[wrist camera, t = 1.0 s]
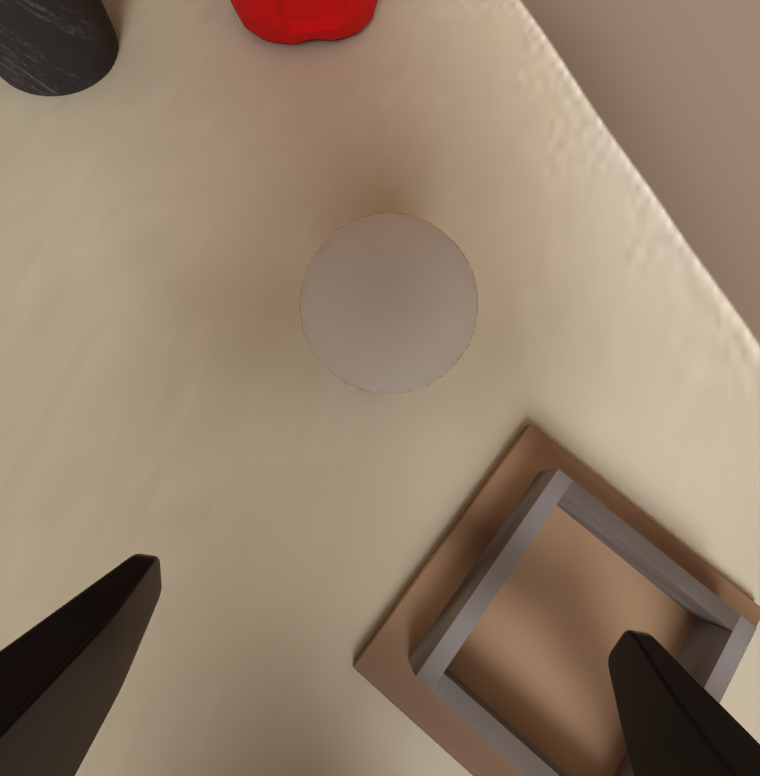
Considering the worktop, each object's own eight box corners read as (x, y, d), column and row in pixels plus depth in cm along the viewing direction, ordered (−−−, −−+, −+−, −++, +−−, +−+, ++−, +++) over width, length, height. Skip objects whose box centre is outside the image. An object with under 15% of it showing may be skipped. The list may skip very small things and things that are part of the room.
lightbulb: (323, 308, 24) (310, 153, 13) (435, 325, 24) (510, 188, 14) (304, 419, 22) (272, 345, 12) (424, 436, 23) (498, 379, 12)
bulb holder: (610, 895, 19) (651, 954, 16) (352, 663, 20) (354, 685, 17) (755, 607, 22) (806, 620, 20) (527, 425, 23) (548, 416, 21)
